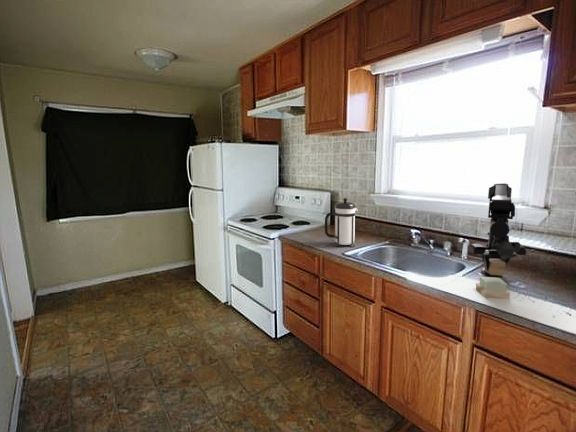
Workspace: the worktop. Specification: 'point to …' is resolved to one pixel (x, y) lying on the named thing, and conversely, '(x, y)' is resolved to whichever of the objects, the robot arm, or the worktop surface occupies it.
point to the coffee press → (343, 223)
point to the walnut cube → (496, 267)
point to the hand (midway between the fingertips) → (494, 270)
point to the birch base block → (492, 292)
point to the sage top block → (493, 284)
